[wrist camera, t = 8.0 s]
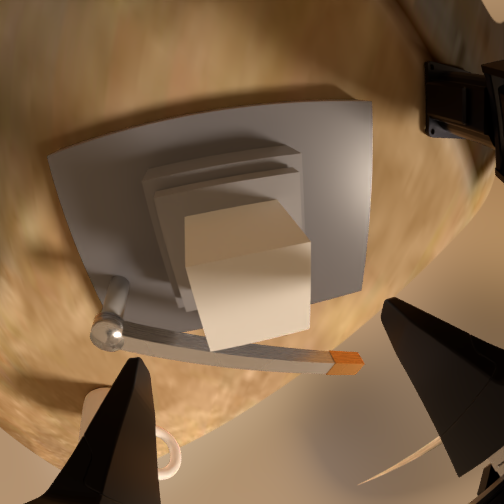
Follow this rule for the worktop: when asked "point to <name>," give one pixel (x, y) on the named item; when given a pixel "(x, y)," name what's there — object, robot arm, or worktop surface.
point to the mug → (97, 397)
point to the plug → (240, 255)
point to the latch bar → (197, 350)
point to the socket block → (209, 168)
